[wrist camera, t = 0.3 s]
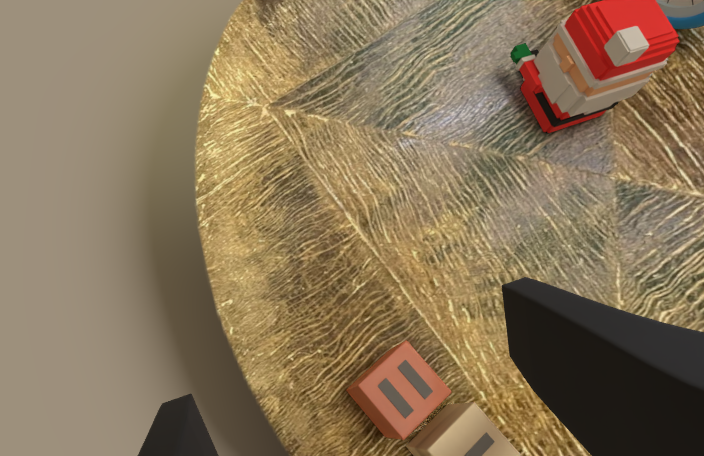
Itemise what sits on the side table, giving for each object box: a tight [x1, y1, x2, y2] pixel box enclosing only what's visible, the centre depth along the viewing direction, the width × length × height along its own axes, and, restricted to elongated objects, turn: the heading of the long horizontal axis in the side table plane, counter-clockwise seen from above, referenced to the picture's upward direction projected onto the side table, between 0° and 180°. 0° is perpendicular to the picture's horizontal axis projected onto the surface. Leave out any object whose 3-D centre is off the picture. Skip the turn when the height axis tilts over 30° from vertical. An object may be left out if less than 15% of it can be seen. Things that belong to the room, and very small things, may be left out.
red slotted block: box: [346, 340, 451, 440], centre depth 35 cm, size 4×4×6 cm
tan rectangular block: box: [406, 402, 521, 456], centre depth 35 cm, size 4×4×6 cm
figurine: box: [510, 0, 680, 133], centre depth 42 cm, size 8×7×12 cm
